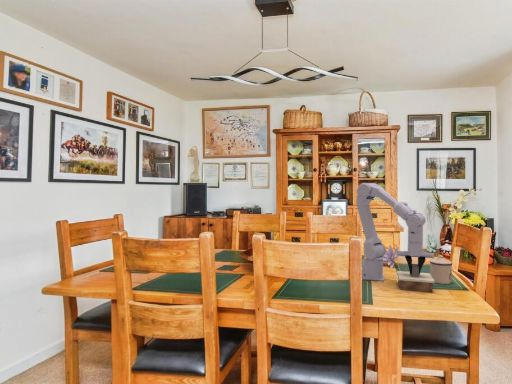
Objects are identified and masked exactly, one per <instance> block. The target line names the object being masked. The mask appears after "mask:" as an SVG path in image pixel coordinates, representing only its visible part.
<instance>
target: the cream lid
mask: <svg viewBox="0 0 512 384" xmlns="http://www.w3.org/2000/svg"><path fill="white" fill-rule="evenodd" d="M396 274H397V279H398V278H399V280H404V281H416V282H428V283H433V284H436V283H435V281H434V279H433V278H432V276H431V275H430V272H420V275H419V266H418V263H412V275H411V274H410V271H406V270H405V271H403V270H402V271H401V270H396Z"/></svg>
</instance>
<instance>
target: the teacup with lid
mask: <svg viewBox="0 0 512 384" xmlns="http://www.w3.org/2000/svg"><path fill="white" fill-rule="evenodd" d="M452 265H453V261H451V260H449V259H447V258H445V257H444V255H441V254H440V255H439V254H438V256H437V257H434V259H432V258H430V260H429V273H430V275H431V276H432V278H433V279H434V281H435V283H434V284H441V285H446V284H447V285H449V284H451V283H452V277H453V275H452V274H453V273H452V270H453V269H452V268H453V267H452Z"/></svg>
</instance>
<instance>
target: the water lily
mask: <svg viewBox="0 0 512 384" xmlns="http://www.w3.org/2000/svg"><path fill="white" fill-rule="evenodd" d="M387 249H388V250H386V254H385V255H384V256H383V265H384V264H386V263H387V265H388V266H389V267H390V268H391V269H393V268H394V265H395V266H397V263H396V261H395V260H398V259H399V258H400V256H396V252H397V251H399V250H400V246H398V247H397V248H395V250H394V249H393V247H392V245H391V244H389V245H388V248H387Z"/></svg>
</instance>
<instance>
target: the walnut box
mask: <svg viewBox="0 0 512 384" xmlns="http://www.w3.org/2000/svg"><path fill="white" fill-rule="evenodd" d="M397 279H398V281H397V283H398V286H399V290H401V291H402V290H403V291H413V292H422V293H423V292H424V293H433V287H434V286H433V284H434V283H428V282H416V281H404V280H399V278H398V277H397Z"/></svg>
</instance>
